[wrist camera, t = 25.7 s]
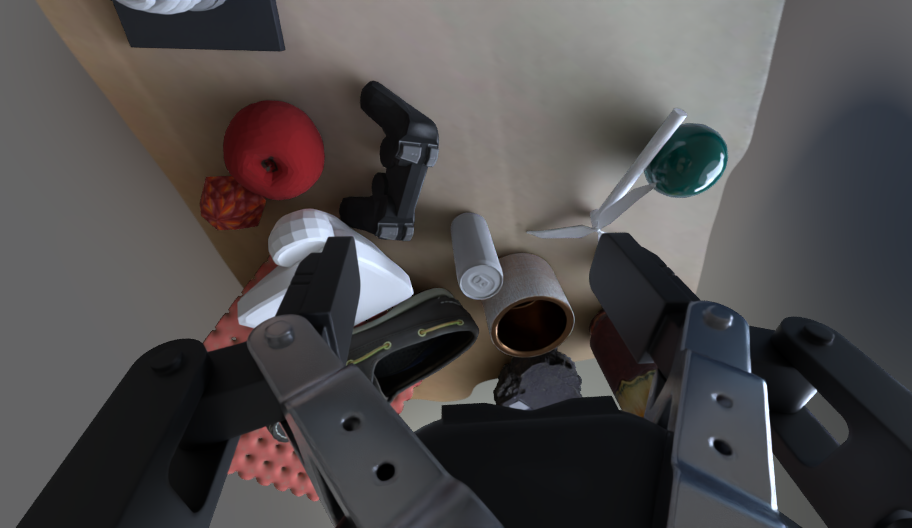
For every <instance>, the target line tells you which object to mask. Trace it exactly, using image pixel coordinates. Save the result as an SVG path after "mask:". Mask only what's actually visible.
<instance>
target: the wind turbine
mask: <svg viewBox="0 0 912 528" xmlns="http://www.w3.org/2000/svg"><path fill="white" fill-rule="evenodd" d="M686 116H687V114H686V112H684V111H683V110H681V109H678V108H674V109H673V111H672V112H671V113H670V115H669V116H668V117H667V119H666V120H665V121H664V123H663V124H662V125H661V127H660V128H659V129H658V131H657V132H656V133H655V135H654V136H653V137H652V139H651V140H650V141H649V143H648V144H647V145H646V147H645V148H644V149H643V151H642V152H641V153H640V155H639V156H638V157H637V159H636V160H635V162H634V163H633V164H632V166H631V167H630V168H629V170H628V171H627V172H626V174H625V175H624V176H623V178H622V179H621V180H620V182H619V183H618V184H617V186H616V187H615V188H614V190H613V191H612V192H611V194H610V195H609V196H608V198H607V199H606V200H605V202H604V203H603V204H602V206H601V207H600V208H599V210H598V209H596V210H593V211H591V213H590V218H591V223H592V228H590V227H587V226H584V225H578V226H571V227H564V228H558V229H551V230H538V231H527V232H526V233H529V234H532V235H534V236H537V237H540V238H582V237H584V236H586V235H588V234H590V233H592V232H595V231H596V232H598V241H599V238H600V236H601V235H602V234H603V233H605V232H602V231H600V230H601V228H603V227H605V226H607V225H609V224H611V223H612V222H613V221H614V220H615V219H616V218H618V217H619V216H620V215H621V214H622V213H623V212H625V211H626V210H627V209H628V208H629V207H630V206H632V205H633V204H634V203H635V202H636V201H637V200H639V199H640V198H641V197H643V196H644V195H645V194H647V193H648V192H649V191H651V190H652V189H653V188H655V187H656V183H652V184H649V185H646V186H642V187H639V188H635V189H633V190H632V191H630V192H629V193H628V194H626V192H627V191H628V190H629V189H630V187H631V186H632V185H633V184H634V182H635V181H636V180H637V178H638V177H639V176H640V175H641V173H642V172H643V171H644V170H645V168H646V167H647V166H648V165H649V163H650V162H651V161H652V160H653V158H654V157H655V156H656V154H657V153H658V152H659V151H660V149H661V148H662V147H663V146H664V144H665V143H666V142H667V141H668V139H669V138H670V137H671V135H672V134H673V133H674V132H675V130H676V129H677V128H678V127H679V125H680V124H681V123H682V122H683V120H684V119H685V118H686ZM625 194H626V195H625ZM624 195H625V196H624Z"/></svg>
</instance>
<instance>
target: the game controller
mask: <svg viewBox="0 0 912 528" xmlns="http://www.w3.org/2000/svg"><path fill="white" fill-rule="evenodd" d="M360 104H361V109H362V110H363V111H364V112H365V113H366V114H367V115H368V116H369V117H370V118H371V119H372V120H374V121H375V122H376V123H377V124H378V125H379V126H380V127H382V129H383V131H384V133H385V135H386V137H385V138H384V139H383V141H382V143H381V146H380V161H381V163H382V165H383V167H385V168H387V169H386V173H377V174H375V175H374V178H373V181H372V194H373V195H372V196H370V197H347V198H343V200H342V202H341V204H340V208H339V214H340V219H341V221H342V222H344V223H345V224H346V225H348V226H349V227H352V228H356V229H361V230H365V231H367V232H370V233H372V234H374V235H375V236H377V237H378V238H379V239H385V240H389V239H392V240H402V241H410V240H411V238H412V236H413V231H414V222H415V212H414V211H415V207H416V204H417V201H418V198H419V195H420V191H421V188H422V185H423V182H424V178H425V175H426V172H427V169H428V167H432V166H434V165H435V163H436V161H437V158H438V152H439V149H438V146H439V135H438V130H437V127H436V125H435V123H434V122H433V121H432V120H431V119H429V118H428V117H427V116H425V115H424V114H422V113H421V112H419V111H418V110H416V109H415V108H414V107H412V106H411V105H409V104H408V103H406V102H405V101H404V100H402V99H401V98H400V97H398V96H397V95H395V94H394V93H393V92H391V91H390V90H389V89H387V88H386V87H384V86H383V85H382V84H380V83H379V82H376V81H370V82H369V83H367V84H366V85H365V86H364V88H363V89H362V92H361V96H360Z"/></svg>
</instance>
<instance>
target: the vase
mask: <svg viewBox="0 0 912 528" xmlns="http://www.w3.org/2000/svg"><path fill="white" fill-rule="evenodd" d="M589 331H590V335H591V338H590V347H591V349H592V352H593V354H594V356H595V358H596V360H597V362H598V364H599V366H600V368H601V370H602V372H603V374H604V376H605V378H606V380H607V382H608V384H609V386H610V388H611V390H612V392H613V394H614V396H615V398H616V400H617V402H618V403H619V406H620V407H621V409H622V411H625V412H629V413H632V414H635V415H638V416H640V417H644V413H645V409H646V405H647V400H648V396H649V392H650V388H651V383H652V379H653V375H654V373H655V371H656V369H657V365H656V364H655V363H645V364H637V362H636V361H635V359H634V357H633V356H632V354H631V352H630V351H629V349H628V348H627V346H626V344H625V343H624V341H623V340H622V338H621V336H620V335H619V333H618V331H617V330H616V328H615V327H614V325H613V323H612V322H611V320H610V319H609V317H608V315H607V314H606V312H605V310H604V309H602V310H601V311H600V312H598V313H597V314H596V315H595V317H594V318H593V319H592V321H591V323H590V327H589Z"/></svg>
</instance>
